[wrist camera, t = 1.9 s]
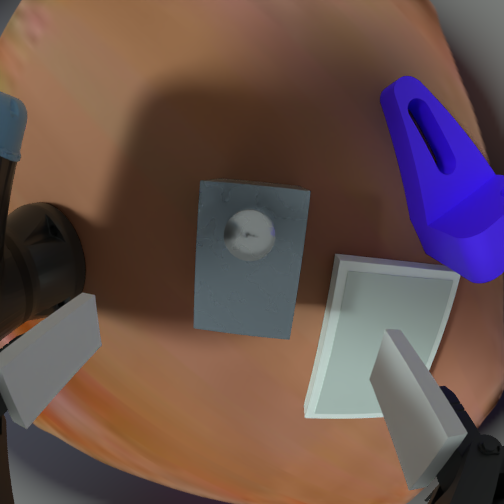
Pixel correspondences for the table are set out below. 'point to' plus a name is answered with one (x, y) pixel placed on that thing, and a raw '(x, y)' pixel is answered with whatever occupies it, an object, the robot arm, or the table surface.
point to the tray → (374, 327)
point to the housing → (249, 256)
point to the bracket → (446, 184)
